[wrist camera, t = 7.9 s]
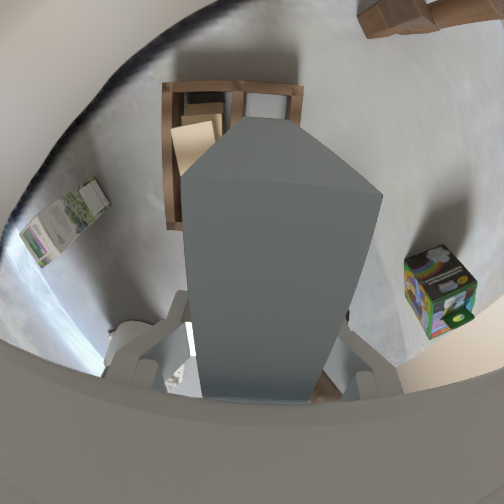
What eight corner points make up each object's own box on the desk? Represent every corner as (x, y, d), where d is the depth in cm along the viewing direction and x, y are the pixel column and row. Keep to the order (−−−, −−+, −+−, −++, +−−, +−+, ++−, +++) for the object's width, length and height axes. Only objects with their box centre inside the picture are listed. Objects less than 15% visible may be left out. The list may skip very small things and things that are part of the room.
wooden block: (355, 16, 22) (424, -30, 7) (418, 11, 20) (501, -13, 4) (366, 40, 24) (445, 9, 9) (428, 33, 22) (516, 21, 6)
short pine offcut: (226, 184, 32) (223, 190, 30) (189, 190, 32) (184, 195, 31) (214, 119, 28) (211, 120, 26) (175, 127, 28) (170, 129, 26)
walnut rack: (283, 220, 38) (286, 238, 34) (177, 213, 38) (166, 229, 34) (298, 88, 29) (303, 86, 24) (175, 84, 29) (162, 82, 24)
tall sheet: (272, 270, 23) (278, 453, 10) (236, 267, 23) (213, 450, 10) (289, 120, 17) (383, 194, 4) (244, 116, 16) (180, 176, 4)
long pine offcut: (228, 195, 37) (226, 202, 35) (196, 196, 37) (191, 203, 35) (225, 101, 30) (222, 102, 28) (189, 104, 31) (184, 104, 28)
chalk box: (404, 296, 45) (434, 357, 33) (402, 258, 41) (441, 320, 28) (443, 280, 43) (479, 335, 31) (445, 242, 39) (490, 296, 26)
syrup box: (73, 192, 37) (16, 236, 24) (95, 174, 35) (34, 215, 23) (90, 220, 39) (40, 271, 27) (113, 204, 38) (60, 255, 25)
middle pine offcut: (226, 190, 34) (224, 195, 33) (191, 191, 34) (187, 196, 33) (223, 112, 29) (221, 113, 27) (186, 115, 29) (181, 116, 27)
